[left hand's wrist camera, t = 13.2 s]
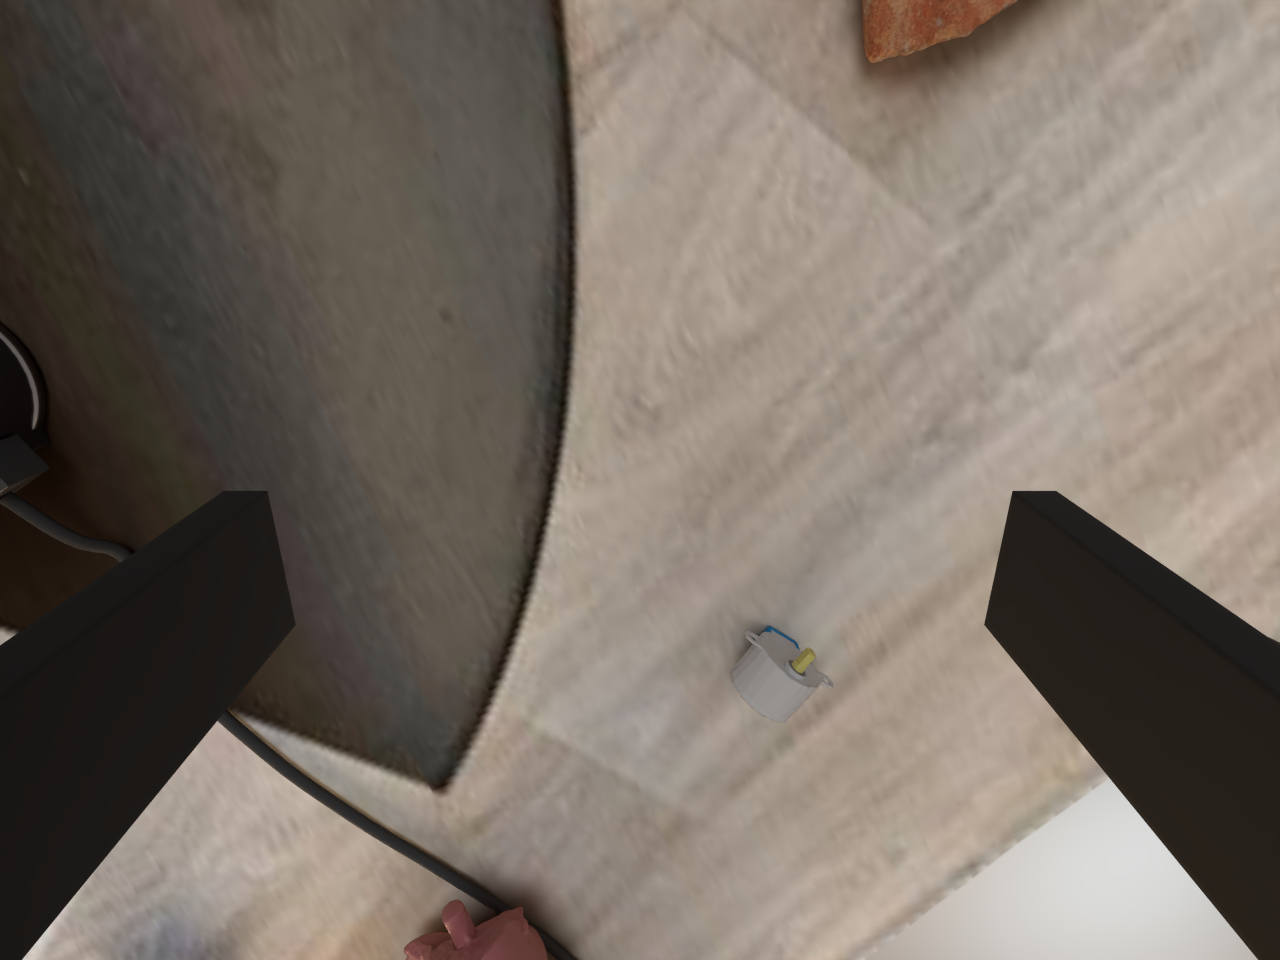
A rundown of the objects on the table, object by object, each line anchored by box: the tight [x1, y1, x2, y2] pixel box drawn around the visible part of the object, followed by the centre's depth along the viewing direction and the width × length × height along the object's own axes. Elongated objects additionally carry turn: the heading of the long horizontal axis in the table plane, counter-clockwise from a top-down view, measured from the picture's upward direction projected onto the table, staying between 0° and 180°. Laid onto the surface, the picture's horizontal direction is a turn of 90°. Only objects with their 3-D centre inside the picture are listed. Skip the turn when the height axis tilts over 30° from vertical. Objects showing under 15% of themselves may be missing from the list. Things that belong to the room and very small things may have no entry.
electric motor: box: [731, 626, 834, 722], centre depth 44 cm, size 7×5×5 cm
